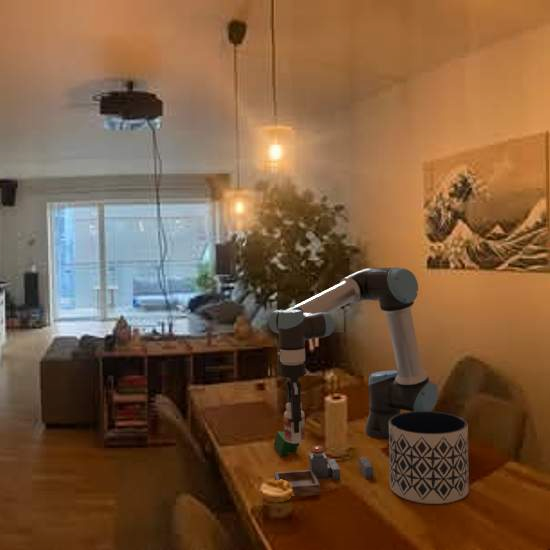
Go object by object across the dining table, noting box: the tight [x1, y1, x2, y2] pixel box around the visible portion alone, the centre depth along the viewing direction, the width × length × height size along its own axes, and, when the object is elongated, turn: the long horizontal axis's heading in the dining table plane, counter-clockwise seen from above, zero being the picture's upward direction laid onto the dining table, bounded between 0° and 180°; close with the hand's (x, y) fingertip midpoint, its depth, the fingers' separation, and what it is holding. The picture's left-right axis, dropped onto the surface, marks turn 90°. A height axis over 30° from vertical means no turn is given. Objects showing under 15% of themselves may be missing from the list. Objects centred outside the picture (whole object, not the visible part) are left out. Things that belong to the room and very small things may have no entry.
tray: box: [273, 469, 321, 497], centre depth 191 cm, size 12×12×3 cm
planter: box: [388, 410, 470, 505], centre depth 186 cm, size 22×22×20 cm
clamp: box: [273, 430, 301, 457], centre depth 224 cm, size 12×6×9 cm, turn 7°
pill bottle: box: [283, 402, 306, 443], centre depth 190 cm, size 6×6×11 cm
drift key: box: [310, 445, 325, 458], centre depth 200 cm, size 4×4×7 cm
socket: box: [308, 452, 374, 482], centre depth 200 cm, size 19×9×6 cm, turn 96°
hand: (294, 439), depth 190 cm, fingers closed on pill bottle, 6 cm apart
